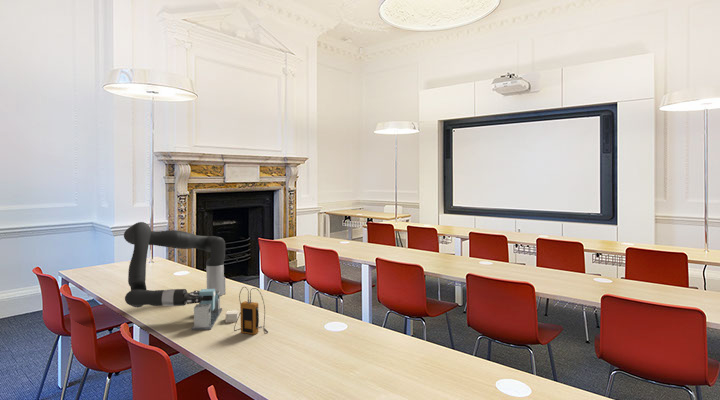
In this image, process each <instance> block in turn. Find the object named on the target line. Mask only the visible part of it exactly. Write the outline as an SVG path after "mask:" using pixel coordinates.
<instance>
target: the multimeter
mask: <svg viewBox="0 0 720 400" xmlns="http://www.w3.org/2000/svg"><path fill="white" fill-rule="evenodd" d="M244 288H245V289H246V290H247V301H243V302H241V292H242V290H243V289H244ZM255 289H256V290H257V291H258V292H259V294H260V296H261V299H262V301H263V302H262V303H263V308H264V315H263V316H264V317H263V324H265V320H266V306H265V301H264V298H263V295H262V293H261V291H260V290H259V289H258V288H256V287H253V288H251V289H250V291H249V289H248V287H247V286H243V287H241V289H240V292H239V296H238V297H239V298H238V299H239V304H240V311H239V313H238V319H237V321H236V322H235V324H234V328H233V331H234V332H236V331H239V330H240V333H242V334H248V335H253V336H254V335H257V334H258V333H259V329H260V328H262V329H263V333H264V334H268V333H269V331H268V329H266V328H265V327H266V325H263V326H262V325H261V326H259V325H260V324H259V322H260V320H259V318H260V316H259V315H260V314H259V303H258V302H252V296H251V294H252V293H251V292H252V290H255ZM239 319H240V328H238V329H235V328H236V325H237V323H238V320H239ZM265 331H266V332H265Z"/></svg>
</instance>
